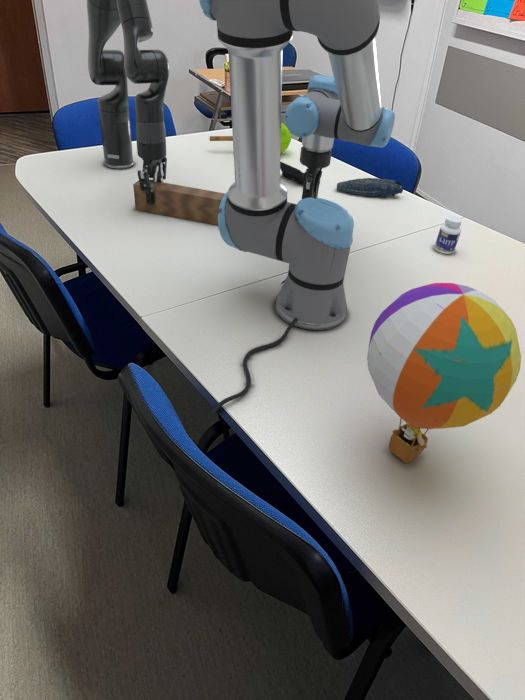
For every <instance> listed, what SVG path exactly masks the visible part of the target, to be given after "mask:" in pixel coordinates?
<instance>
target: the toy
mask: <svg viewBox="0 0 525 700" xmlns="http://www.w3.org/2000/svg"><path fill="white" fill-rule="evenodd" d="M367 347H368V348H367V354H366V355H367V356H366V362H367V370H368V372H369V375H370V377H371V379H372V380H371V381H372V382H373V385H374V387H375V389H376V391H377V394H378V395H379V397H381V399H382V401H384V402H385V403H386V405H387V406H388V407H389V408H390V409H391V410H392V411H393V412H394V413H395V414H396V415H397V416H398V417H399V418H400V419H399V425H398V428H397V429H393V430H392V434H391V436H390V440H389V444H388V449H389V451H390V453H392V454H394V455H395V456H396V457H397V458H399V460H401V461H402V462H404V463H405V464H409V463H410V462H412V461H413V460H414V459H415V458H417V457H418V456H419V455H420V454H421V453H423V451H424V449H427V447H428V440H429V438H428V437H427V436H426V434H427V433H428V431H429V430H437V429H453V428H461V427H466V426H467V425H469V424H472V423H475V422H477V421H478V420H481V419H483V418H485V417H487V416H489V415H492V413H494V412H495V411H496V410H497V409H498V408H500V407H501V405H502V404H503V402H504V401H505V399H506V398H507V396H508V395H509V394H510V391H512V388H513V387H514V385H515V383H516V382H517V379H518V376H519V373H520V371H521V362H522V354H521V349H520V343H519V338H518V333H517V329H516V327H515V324H514V323H513V321H512V319H511V317H510V316H509V315H508V314H507V312H506V311H505V310H504V309H503V307H502V306H500V304H499V303H498V302H497V301H496V300H495V299H493V298H491V297H490V296H489V295H487V294H485V293H484V292H483V291H481V290H478V289H475V288H473V287H470V286H467V285H464V284H458V283H453V282H434V283H429V284H424V285H421V286H418V287H414V288H411V289H409V290H407V291H405V292H403V293H402V294H401V295H399V296H398V297H397V298H396V299H394V301H393V302H392V303H390V304H389V305H388V306H387V307H386V308H385V309H383V310H382V311H381V313H380V314H379V315H378V317H377V319H376V320H375V321H374V324H373V327H372V330H371V332H370V338H369V342H368V346H367ZM402 420H403V421H404V422H405V423H404V424H403V425H402ZM421 429H422V430H426V431H425V432H424V433H423V432H422V430H421Z"/></svg>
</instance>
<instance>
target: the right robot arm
mask: <svg viewBox="0 0 525 700" xmlns="http://www.w3.org/2000/svg"><path fill="white" fill-rule="evenodd" d="M198 1H199V2H198V3H199V6H200V8H201V10H202V13H203V14H204V16H205V17H206V18H208V19H209V20H210V21H215V22H216V31H217V40H218V42H219V43H221V44H222V46H223V47H225V49H227V52H228V73H229V93H230V112H231V132H232V136H233V141H232V148H233V150H232V151H233V166H234V167H233V168H234V169H233V170H234V171H233V172H234V182H233V183H232V184H230V186H229V188H228V190H227V191H226V194H225V195H224V196H223V198H222V200H221V203H220V207H219V209H220V213H219V214H218V225H217V227H218V232H219V234H220V238H221V240H223V242H224V243H225V244H226V245H228V246H229V247H232V248H234V249H236V250H238V251H241V252H245V253H249V254H250V253H251V254H255V255H257V256H261V257H265V258H268V259H271V260H276V261H280V262H283V263H286V264H288V270H287V271H288V272H287V275H286V278H285V279H284V280H282V281H281V282H280V283H281V284H280V285H281V287H280V290H279V291H278V294H277V296H276V300H275V311H276V313H277V315H278V316H279V317H280V318H281V319H282V320H283V321H284V322H286V323H287V324H289V325H288V326H287V327H286V329H285V331H284V333H283V334H282V335H281V337H280V338H278V339H277V340H275V341H273V342H271V343H268V344H264V345H260V346H257V347H254V348H252V349H251V350H249V351H248V352H247V353H246V354H245V355H244V356H243V357H244V358H243V361H242V367H243V371H244V374H245V377H246V384H245V386H244V388H243V389H242V390H241V391H240V392H238V393H236V394H233V395H230V396H228V397H226V398H224V399H222V400H221V401H219V402H218V403H217V404H216V405H215V406H214V408H213V409H212V411H211V412H210V416H211V417H214V416H216V414H217V413H218V411H219V410H220V409H221V408H222V407H223V406H224V405H225V404H227V403H229V402H232V401H234V400H237V399H239V398H242V397H243V396H245V395H246V394H247V393H248V391H249V389H250V387H251V384H252V378H251V374H250V371H249V367H248V359H250V357H251V356H252V355H253V354H255V353H257V352H259V351H262V350H265V349H269V348H273V347H275V346H277V345H279V344H281V343H282V342H283V341H284V340H285V339H286V338H287V336H288V335H289V333H290V331H291V330H292V328H293V327H296V328H300V329H304V330H310V331H324V330H325V331H326V330H329V329H333V328H336V327H337V326H339V325H340V324H342V323H343V322H344V320H345V318H346V315H347V310H348V307H347V306H348V305H347V297H346V292H345V286H344V280H345V275H346V271H347V267H348V261H349V257H350V251H351V246H352V244H353V242H354V241H353V240H354V239H353V236H354V235H353V234H354V228H355V221H354V218H353V215H352V214H351V213H349V211H348V210H347V209H346V208H345V207H344V206H342V205H340V204H339V203H336V202H335V201H332V200H329V199H326V198H321V197H318V195H319V188H320V185H321V184H320V183H321V179H322V176H323V169H326V168H327V167H329V166H330V165H331V161H332V149H333V147H334V141H335V140H340V141H344V142H348V143H353V144H358V145H362V146H366V147H375V148H385V147H386V146H387V145H388V144H389V141H390V139H391V137H392V133H393V129H394V126H395V117H396V114H395V111H393V110H392V109H391V108H390V109H389V108H386V107H384V106H383V107H382V102H381V101H382V100H381V99H382V98H381V90H380V80H379V68H378V58H377V47H376V37H377V35H378V32H379V30H380V25H381V11H380V3H379V0H198ZM294 32H300V33H301V32H302V33H307V34H310V35H313V36H315V37H316V38H317V41H318V43H319V46H320V47H321V48H322V49H323V50H324V51H325V52H327V55H328V60H329V62H330V67H331V70H332V75H329V74H328V75H327V74H315V75H312V76H310V78H309V80H308V86H307V88H306V91H307V92H306V93H304V94H302V95H301V96H298V97H296V98H294V100H293V101H291V102H290V104H289V105H288V106H287V107H286V110H285V112H284V125H285V126H286V127H287V128H288V130H289V131H290V132H291V135H293V136H295V137H297V138H302V140H301V145H302V147H300V154H299V162H300V164H301V165H302V166H304V167H306V169H305V171H304V172H303V173H304V182H303V184H302V191H301V192H302V193H301V199H300V200H298V201H297V202H296V203H293V202H290V201H288V189H287V187H286V185H285V184H284V183H283V182H282V181H281V169H280V161H281V153H280V151H281V123H282V99H283V97H282V95H283V93H282V92H283V54H284V53H283V51H284V49H285V48H286V47H287V45H288V44H289V43H291V41H292V40H293V35H294Z"/></svg>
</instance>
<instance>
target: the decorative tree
mask: <svg viewBox="0 0 525 700" xmlns="http://www.w3.org/2000/svg"><path fill="white" fill-rule="evenodd" d="M209 142H233V135H209ZM291 143H292V133H291V132H290V131H289V130H288V128H287V126H286V124H285V123H283V122H281V151H280V154H281V153H283V152H285V151H287V150H288V149H289V146H290V144H291Z"/></svg>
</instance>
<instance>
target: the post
mask: <svg viewBox="0 0 525 700" xmlns="http://www.w3.org/2000/svg"><path fill="white" fill-rule="evenodd" d="M132 185H133V187H132V188H133V197H134V209H135V211H140V212H146V213H149V214H155V215H161V216H165V217H166V216H167V217H171V218H177V219H181V220H186V221H187V220H188V221H193V222H198V223H203V224H209V225H215V226H218V214H219V213H220V209H219V207H220V203H221V200H222V198H223V196H224V195H225V194H226V193H227V192H226V193H225V192H219V191H214V190H209V189H202V188H198V187H191V186H185V185H180V184H176V183H175V184H174V183H168V182H164V181H163V182H158V181H156V183H155V184H154V198H155V204H154V205H149V204H147V203H146V192H145V191H141V188H140V183H139V179H138V180H137V181H136V182H134V183H133V184H132ZM150 186H151V183H150Z"/></svg>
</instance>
